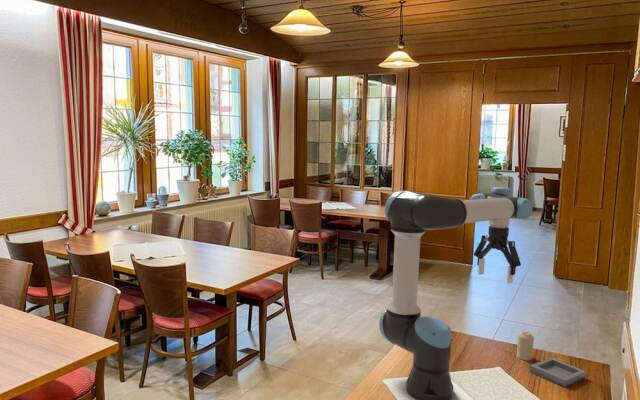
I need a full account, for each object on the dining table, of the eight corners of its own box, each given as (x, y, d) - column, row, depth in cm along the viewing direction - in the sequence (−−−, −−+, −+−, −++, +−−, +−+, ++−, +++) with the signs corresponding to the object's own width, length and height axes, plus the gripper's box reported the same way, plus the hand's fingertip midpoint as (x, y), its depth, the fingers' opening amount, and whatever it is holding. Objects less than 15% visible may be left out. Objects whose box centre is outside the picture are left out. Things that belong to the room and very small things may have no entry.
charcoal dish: (565, 387, 164) (565, 380, 164) (530, 371, 175) (530, 365, 174) (585, 378, 171) (585, 371, 171) (550, 363, 182) (550, 357, 182)
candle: (524, 353, 190) (526, 329, 189) (535, 359, 185) (537, 334, 184) (513, 355, 188) (515, 330, 187) (524, 361, 183) (526, 336, 182)
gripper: (533, 230, 183) (528, 285, 186) (479, 220, 204) (475, 269, 206) (521, 232, 179) (517, 287, 182) (467, 221, 199) (463, 271, 202)
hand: (494, 278), depth 194 cm, fingers open, 13 cm apart
